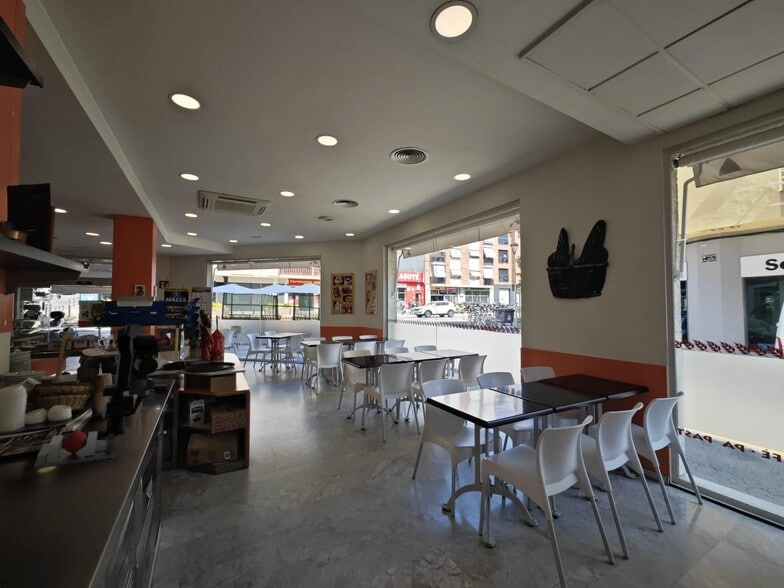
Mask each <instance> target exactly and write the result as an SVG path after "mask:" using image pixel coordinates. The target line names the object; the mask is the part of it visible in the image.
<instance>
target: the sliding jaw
mask: <svg viewBox="0 0 784 588" xmlns="http://www.w3.org/2000/svg"><path fill="white" fill-rule="evenodd" d="M114 440H115V434H114V433H109V434H108V435H107V439H98V431H96V430H95V431H89V432H88V435H87V443H86V445H85V447H86V449H85V455H84V456H91V455H94V452H95V451H101V450H106V453H108V452H112V448H113V444H114V442H115V441H114Z"/></svg>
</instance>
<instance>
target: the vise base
mask: <svg viewBox="0 0 784 588" xmlns="http://www.w3.org/2000/svg"><path fill="white" fill-rule="evenodd" d="M63 439H64V434H62V435H61V434H59V435H53V436H52V438H51V440H50V442H49V443H43V445H42V446H41V448H40V451H39V452H38V454H37V457H36V460H35V461H36V462H35V463H34V466H33V467H34V469H37V468H38V469H39V468H46V467H54V466H62V465H70V464H79V463H86V462H94V461H95V460H96V461H103V460H102V459H104V460H109V459H108V458H112V459H115V457H116V443H113V448H112V452H108V453H106V450H101V451H95V452H94V455H91V456H84V455H85V449H86V446H84V447H83V448H82V449H80V450H79V451H78V452H77V453H74V454H72V453H70V452H68V451H66V450H65V449H64V448H62V446H63Z"/></svg>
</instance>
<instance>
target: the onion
mask: <svg viewBox="0 0 784 588" xmlns="http://www.w3.org/2000/svg"><path fill="white" fill-rule="evenodd" d="M81 430H82V429H81V428H80V427H78V428H76V429H75V430H74V431H73V432H71V433H69V434H68V435H67V436H66V437H65V438H64V441H63V442H62V446H63V449H65V450H66V451H68V452H70V453H72V454H74V453H77V452H78V451H79V450H80V449H82V448H83V447H86V443H87V438H88V435H86V433H84V432H83V431H81Z"/></svg>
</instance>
